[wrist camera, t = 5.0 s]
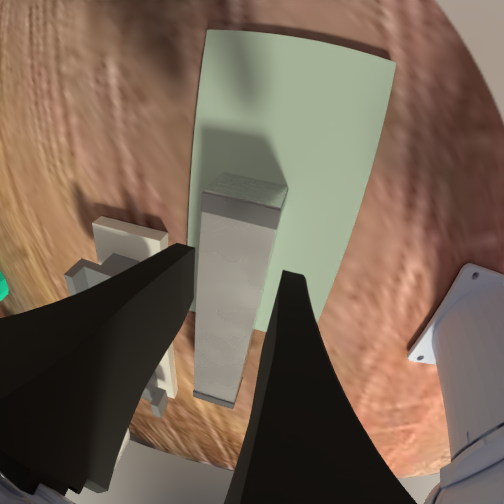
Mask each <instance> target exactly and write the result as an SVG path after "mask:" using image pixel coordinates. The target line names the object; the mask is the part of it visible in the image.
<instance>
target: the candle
mask: <svg viewBox="0 0 504 504" xmlns="http://www.w3.org/2000/svg"><path fill="white" fill-rule="evenodd" d="M7 294H8V286H7V283H6V281H5V278H4V276H3V275H2V273H1V271H0V301H1V300H2V299H3V298H4V297H5V296H6V295H7Z"/></svg>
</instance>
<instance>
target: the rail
mask: <svg viewBox="0 0 504 504" xmlns="http://www.w3.org/2000/svg"><path fill="white" fill-rule="evenodd" d="M288 190H289V189H288V186H284V185H280V184H276V183H272V182H268V181H263V180H259V179H254V178H250V177H245V176H241V175H236V174H231V173H226V172H223V173H222V174H221V175H220V176H219V177H218V178H217V179H215V180H214V181H213V182H212V183H211V184H210V185H209V186H208V187H207V188H205V189H204V191H203V192H202V194H201V205H200V211H201V212H202V218H201V231H200V244H199V259H198V276H197V296H196V321H195V359H194V391H193V397H196V398H199V399H202V400H205V401H208V402H211V403H214V404H218V405H221V406H224V407H228V408H231V409H233V408H234V405H235V401H236V398H237V395H238V392H239V389H240V386H241V383H242V379H243V377H242V376H243V372H244V369H245V365H246V361H247V357H248V353H249V349H250V345H251V341H252V337H253V333H254V329H255V325H256V321H257V317H258V313H259V309H260V305H261V301H262V297H263V292H264V288H265V284H266V280H267V276H268V272H269V267H270V263H271V259H272V255H273V250H274V246H275V242H276V238H277V233H278V229H279V225H280V220H281V216H282V213H283V210H284V207H285V203H286V199H287V194H288Z"/></svg>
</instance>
